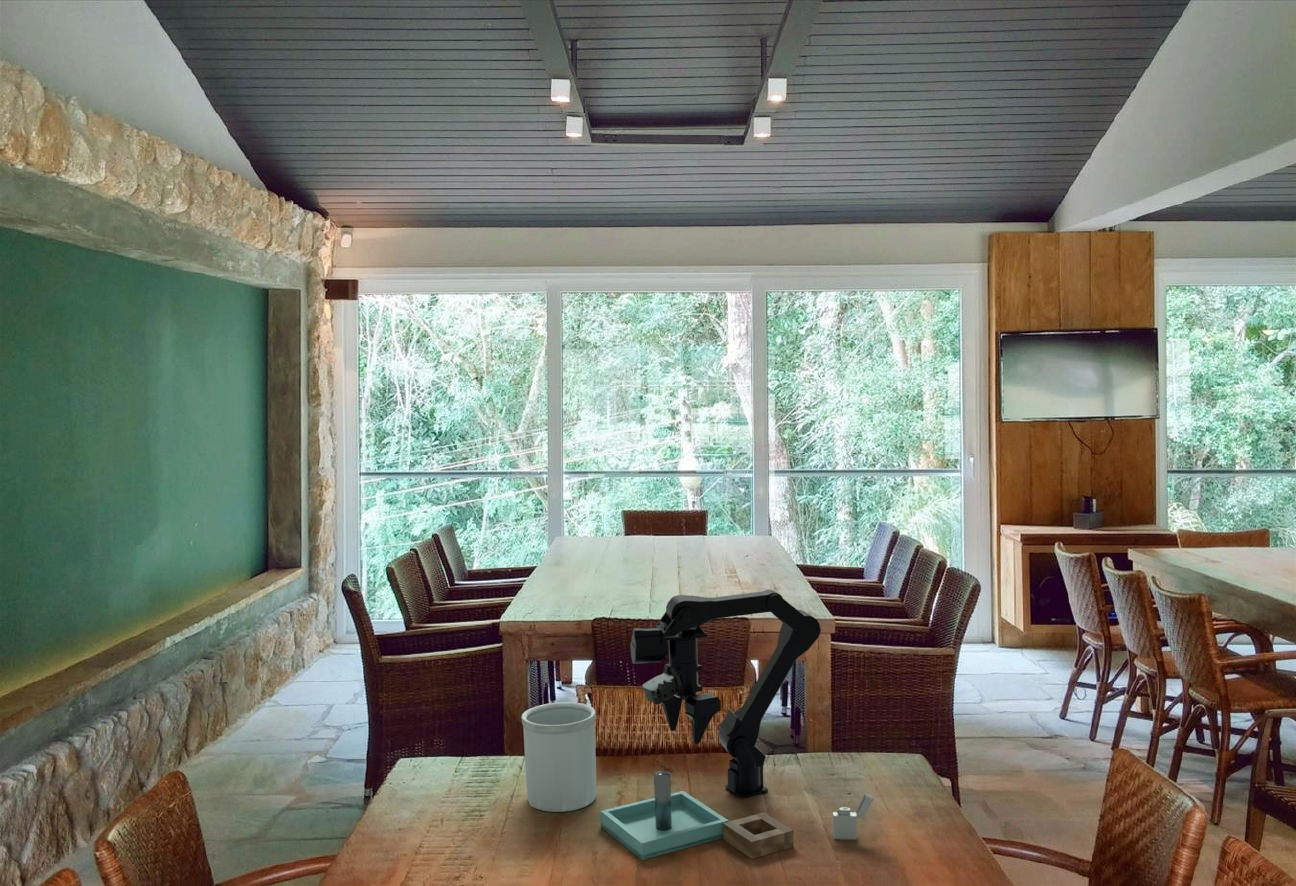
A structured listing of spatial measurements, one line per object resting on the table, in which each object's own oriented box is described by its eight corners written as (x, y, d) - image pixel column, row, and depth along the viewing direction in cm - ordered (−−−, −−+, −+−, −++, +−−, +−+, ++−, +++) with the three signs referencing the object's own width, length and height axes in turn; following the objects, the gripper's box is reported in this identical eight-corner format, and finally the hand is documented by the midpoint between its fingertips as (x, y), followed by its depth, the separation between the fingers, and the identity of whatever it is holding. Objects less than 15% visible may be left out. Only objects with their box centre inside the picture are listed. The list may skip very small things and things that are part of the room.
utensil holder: (510, 808, 201) (507, 720, 200) (545, 780, 214) (543, 698, 213) (577, 818, 195) (575, 728, 194) (609, 789, 209) (607, 705, 208)
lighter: (833, 839, 184) (833, 795, 184) (832, 834, 186) (832, 791, 185) (873, 839, 184) (873, 796, 183) (872, 835, 185) (872, 792, 185)
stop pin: (666, 822, 191) (665, 769, 190) (674, 828, 188) (673, 774, 188) (652, 826, 189) (650, 772, 189) (660, 831, 187) (658, 777, 186)
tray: (683, 805, 200) (682, 790, 200) (728, 836, 186) (728, 820, 186) (600, 826, 191) (600, 810, 191) (642, 860, 177) (641, 843, 177)
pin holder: (763, 828, 189) (763, 812, 189) (793, 846, 181) (793, 830, 181) (723, 839, 185) (723, 823, 185) (751, 858, 177) (751, 842, 177)
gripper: (625, 655, 208) (627, 730, 208) (672, 677, 191) (673, 759, 192) (672, 647, 213) (674, 721, 214) (722, 668, 197) (723, 748, 198)
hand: (684, 737), depth 204 cm, fingers open, 9 cm apart
